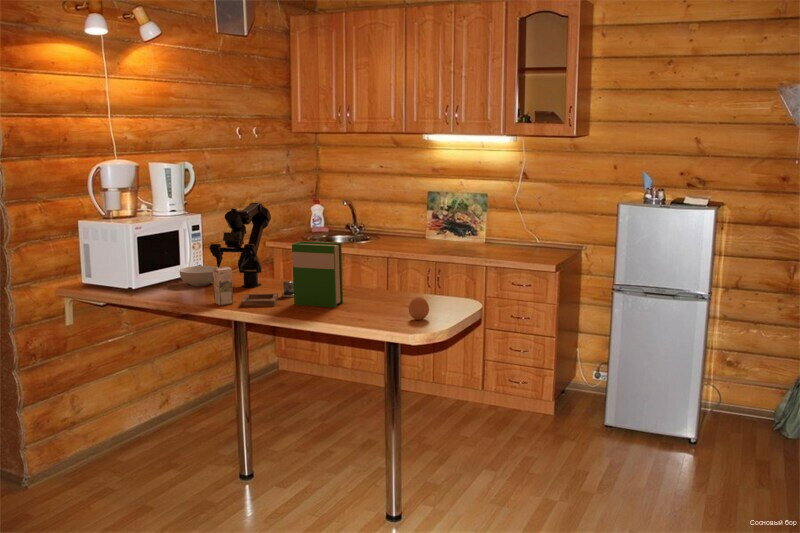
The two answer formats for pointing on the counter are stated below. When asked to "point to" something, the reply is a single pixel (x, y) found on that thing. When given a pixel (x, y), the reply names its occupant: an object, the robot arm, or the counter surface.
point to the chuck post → (288, 289)
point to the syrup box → (222, 285)
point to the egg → (418, 308)
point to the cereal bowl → (197, 275)
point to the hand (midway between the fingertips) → (228, 267)
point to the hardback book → (317, 273)
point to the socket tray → (259, 300)
